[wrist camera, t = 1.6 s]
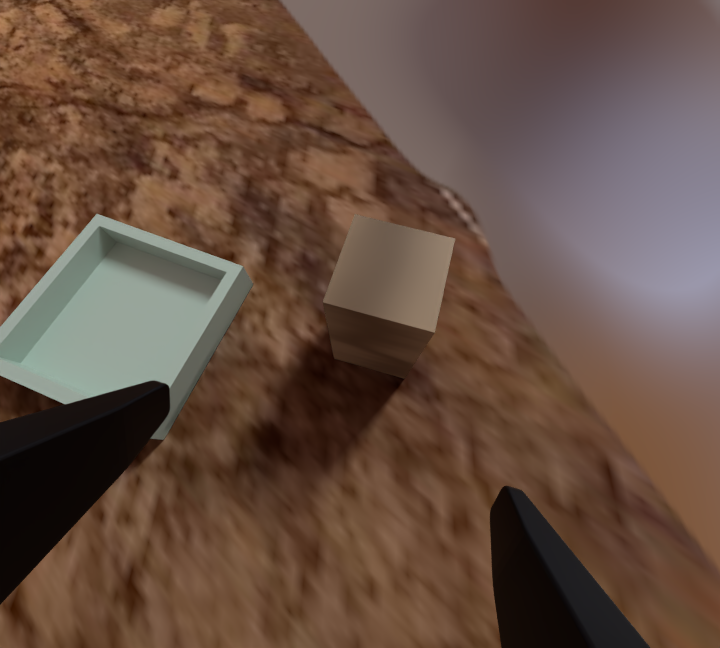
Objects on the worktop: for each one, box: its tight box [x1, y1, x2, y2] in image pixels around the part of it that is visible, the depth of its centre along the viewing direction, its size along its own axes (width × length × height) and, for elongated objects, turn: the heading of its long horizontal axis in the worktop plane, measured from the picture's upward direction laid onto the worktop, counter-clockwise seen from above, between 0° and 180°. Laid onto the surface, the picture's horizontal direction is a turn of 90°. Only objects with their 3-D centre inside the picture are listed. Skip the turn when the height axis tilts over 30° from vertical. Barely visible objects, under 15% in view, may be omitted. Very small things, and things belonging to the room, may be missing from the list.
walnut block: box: [323, 214, 455, 379], centre depth 19 cm, size 5×5×9 cm
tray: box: [0, 214, 253, 440], centre depth 22 cm, size 12×12×2 cm
